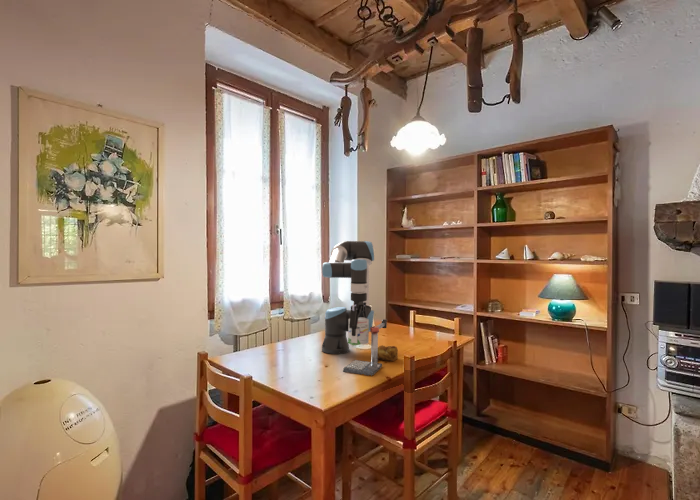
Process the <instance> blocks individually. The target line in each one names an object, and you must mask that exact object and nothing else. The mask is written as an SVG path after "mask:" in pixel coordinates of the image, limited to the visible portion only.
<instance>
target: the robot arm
mask: <svg viewBox="0 0 700 500" xmlns="http://www.w3.org/2000/svg"><path fill="white" fill-rule="evenodd" d="M374 254H375V253H374V245H373V242H372V241H368V240H367V241H366V240H361V241H360V240H359V241H358V240H357V241H356V240H350V241H349V240H345V241H341V242H339V243H337V244H336V245H334V246H333V247H332V249H331V252H330V259H329V261H328V262H326V261H325V262H323V263H322V268H321V273H322V277H323V278H329V279H333V278H334V279H339V278H340V279H341V278H342V279H343V278H346V279H350V301H351V302H353V304H352V305H351V306H350V309H348V308H347V307H346V306H336V307H332V308H328V309H327V310H325V314H324V319H325V320H324V322H325V323H324V337H323V341H322V345H321V352H323V353H325V354H331V355H341V354H347V353H349V352H350V344H349V343H348V336H347V332H348V325H349V328H351V343H357V323H358V318H359V317H364V318H367V319H369V332H370V327H373V324H374V315H375V310H373V309H372V306H371V305H370V266H371V265H372V262H374V261H375V255H374ZM345 261H350V262H345ZM349 319H350V324H349ZM370 333H371V332H370Z"/></svg>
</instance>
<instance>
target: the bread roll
mask: <svg viewBox="0 0 700 500" xmlns="http://www.w3.org/2000/svg"><path fill="white" fill-rule="evenodd" d="M398 354H399V351H398V347H397V346H395V345H387V346H385V345H378V361H386V362H394V361H396V360H398V358H399V357H398V356H399V355H398Z"/></svg>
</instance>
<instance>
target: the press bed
mask: <svg viewBox="0 0 700 500" xmlns="http://www.w3.org/2000/svg"><path fill="white" fill-rule="evenodd" d="M370 333H371V334H370V335H371V336H370V337H371V339H370V341H371V342H370V343H371V346H370V348H371V349H370V351H371V352H370V361H367V360H359V359H358V360H357V359H354V360H352V361H351V362H350V363H349V364H347V365H346V366H344V368H343V371H342V372H345V373H349V374H355V375H356V374H358V375H362V374H364V375H363V376H369V375H371V377H373V376H374V375H375V374H376V373H377V372H379V370H380V369H381V368H382V367H383V363H381V362H380V363H379V362H378V361H379V360H378V347H379V332H378V333H372V332H370ZM372 375H373V376H372Z"/></svg>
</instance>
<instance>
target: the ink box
mask: <svg viewBox="0 0 700 500" xmlns="http://www.w3.org/2000/svg"><path fill="white" fill-rule="evenodd" d="M349 324H350V319H349ZM347 335H348V336H347V341H348V344H349V345H350V346H359V345H365V344H366V345H367V344H369V343H370V342H369V338H370V337H369V336H370V335H369V319H367V318H364V317H359V318H358V323H357V343H351V328H349V325H348V334H347Z"/></svg>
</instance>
